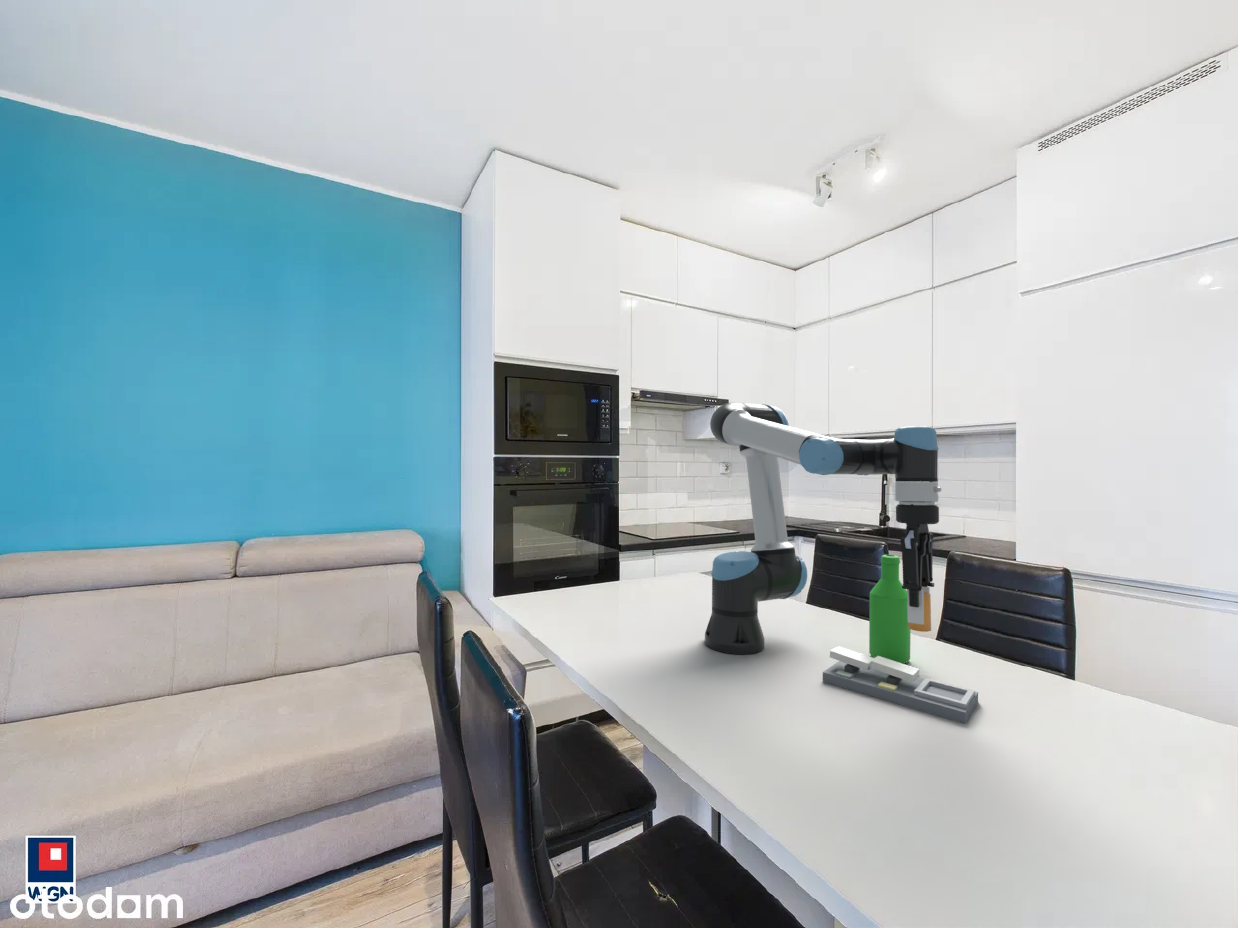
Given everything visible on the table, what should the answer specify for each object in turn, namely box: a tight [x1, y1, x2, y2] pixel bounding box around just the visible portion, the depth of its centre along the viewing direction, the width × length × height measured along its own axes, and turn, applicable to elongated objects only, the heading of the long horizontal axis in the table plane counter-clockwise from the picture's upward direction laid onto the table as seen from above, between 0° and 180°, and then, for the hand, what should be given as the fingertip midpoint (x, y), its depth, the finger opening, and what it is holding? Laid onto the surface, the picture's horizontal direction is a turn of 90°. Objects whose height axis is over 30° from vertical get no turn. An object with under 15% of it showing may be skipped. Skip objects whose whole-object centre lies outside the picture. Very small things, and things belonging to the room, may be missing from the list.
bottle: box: [868, 554, 912, 664], centre depth 126 cm, size 9×9×25 cm
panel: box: [822, 660, 979, 724], centre depth 108 cm, size 26×12×3 cm, turn 46°
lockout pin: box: [908, 592, 932, 633], centre depth 104 cm, size 4×4×7 cm
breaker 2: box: [870, 656, 920, 682], centre depth 108 cm, size 8×4×2 cm, turn 46°
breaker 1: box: [829, 645, 874, 671], centre depth 114 cm, size 8×4×2 cm, turn 46°
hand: (918, 620), depth 104 cm, fingers closed on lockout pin, 3 cm apart
